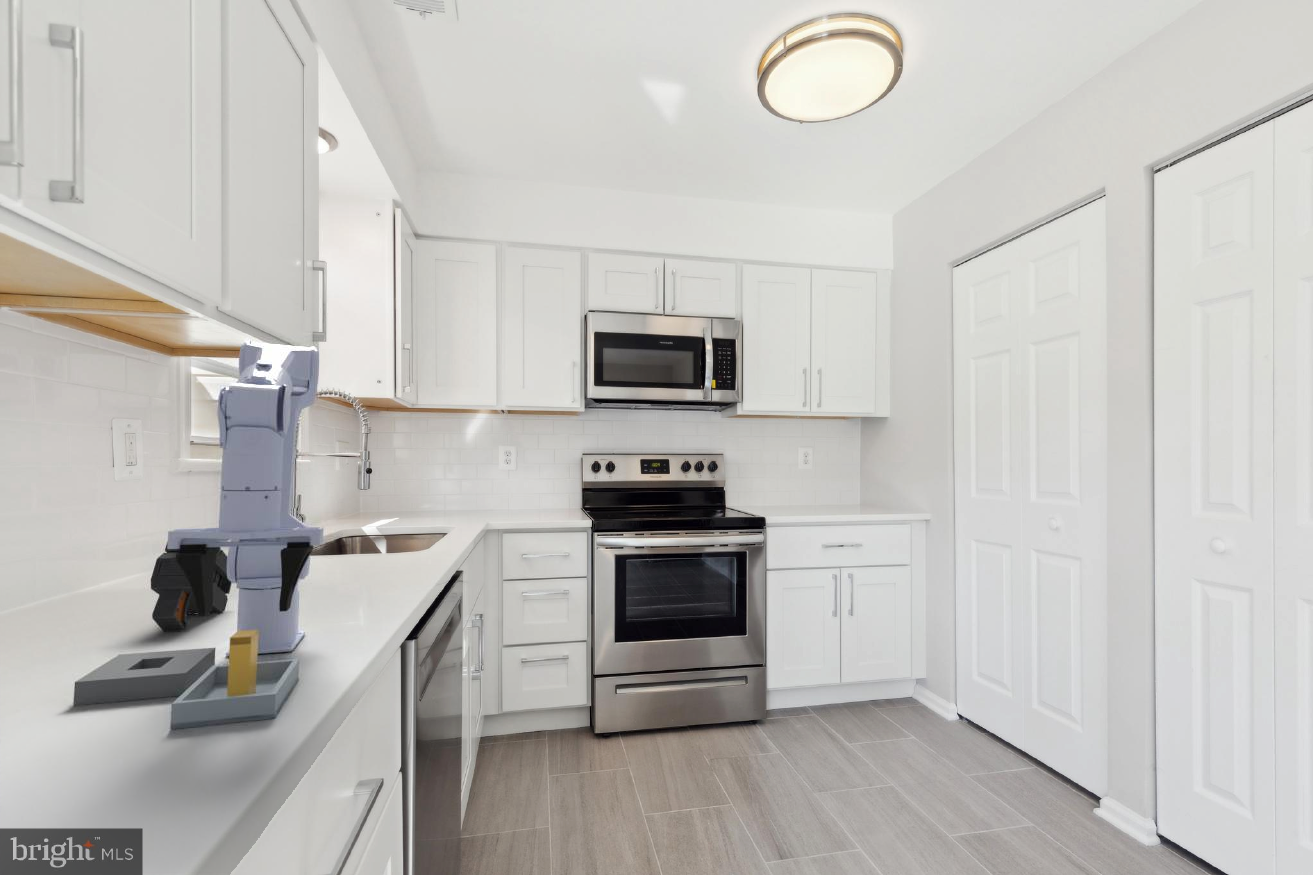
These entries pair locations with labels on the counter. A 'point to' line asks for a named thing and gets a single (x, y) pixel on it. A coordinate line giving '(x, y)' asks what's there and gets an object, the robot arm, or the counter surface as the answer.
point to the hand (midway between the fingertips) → (245, 611)
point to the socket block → (144, 676)
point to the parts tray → (214, 707)
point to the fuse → (243, 663)
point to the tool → (183, 590)
